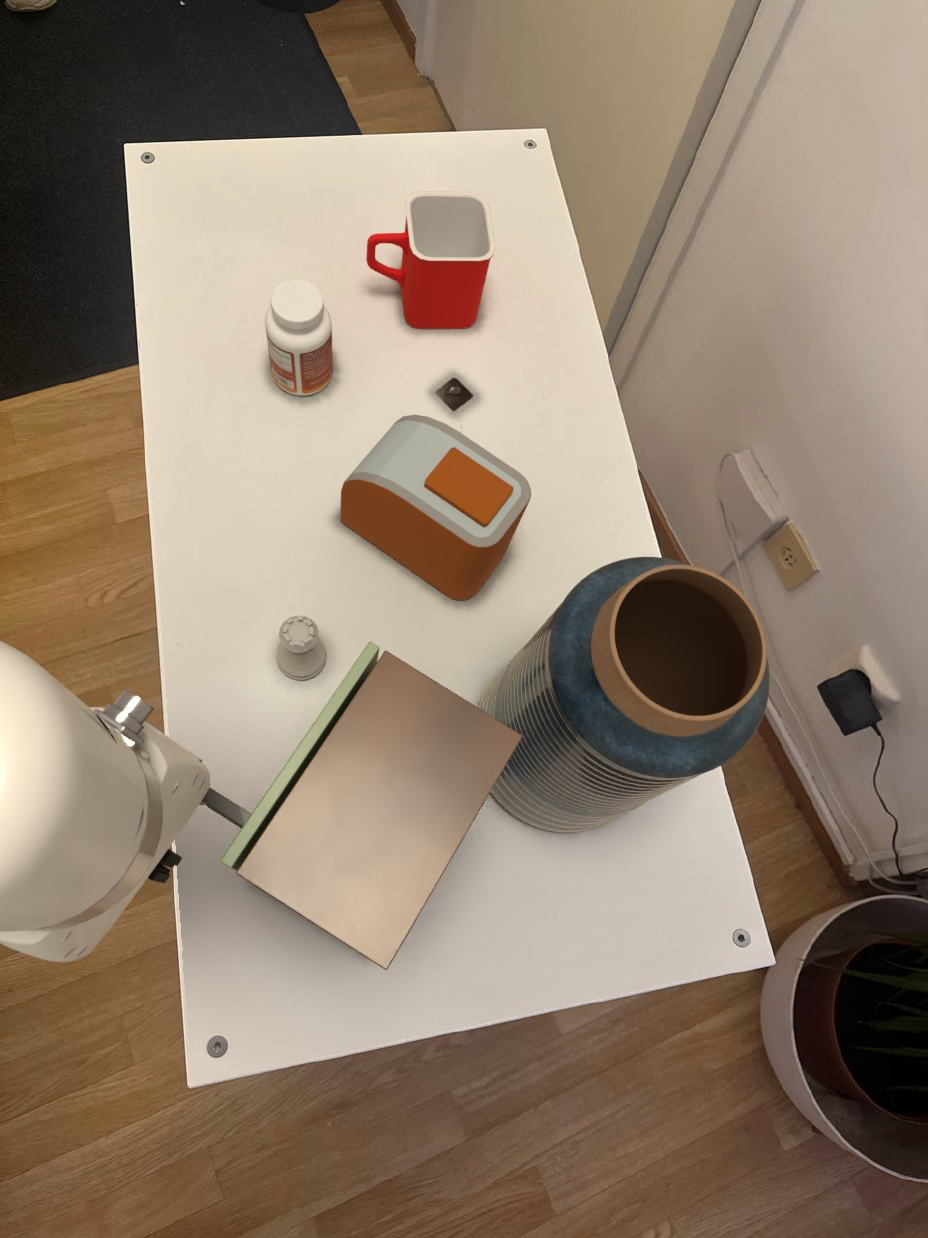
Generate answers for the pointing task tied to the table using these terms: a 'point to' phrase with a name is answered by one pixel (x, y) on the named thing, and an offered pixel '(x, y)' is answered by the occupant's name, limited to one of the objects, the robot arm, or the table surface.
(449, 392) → the small square plate
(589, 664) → the vase
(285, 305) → the pill bottle
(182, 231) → the table surface
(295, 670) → the rook chess piece
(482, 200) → the mug
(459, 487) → the alarm clock
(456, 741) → the cabinet
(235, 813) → the door
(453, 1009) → the table surface
